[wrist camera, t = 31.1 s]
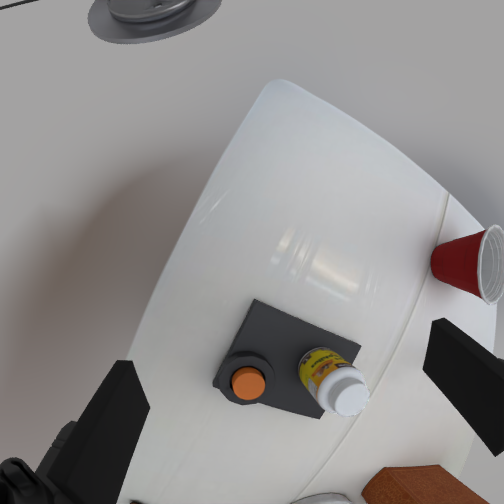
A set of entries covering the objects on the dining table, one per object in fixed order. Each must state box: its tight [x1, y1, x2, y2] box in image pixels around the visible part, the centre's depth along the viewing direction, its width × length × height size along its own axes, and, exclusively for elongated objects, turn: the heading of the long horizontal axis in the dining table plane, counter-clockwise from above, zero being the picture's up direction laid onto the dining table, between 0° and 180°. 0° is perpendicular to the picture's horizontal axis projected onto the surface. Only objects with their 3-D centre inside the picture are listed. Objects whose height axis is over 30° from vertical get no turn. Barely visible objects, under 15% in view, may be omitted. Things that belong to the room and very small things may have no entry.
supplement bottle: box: [298, 347, 370, 417], centre depth 29 cm, size 6×6×10 cm
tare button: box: [232, 367, 265, 400], centre depth 30 cm, size 4×4×2 cm
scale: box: [213, 299, 361, 419], centre depth 33 cm, size 16×12×3 cm
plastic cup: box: [431, 224, 504, 305], centre depth 32 cm, size 11×11×12 cm
